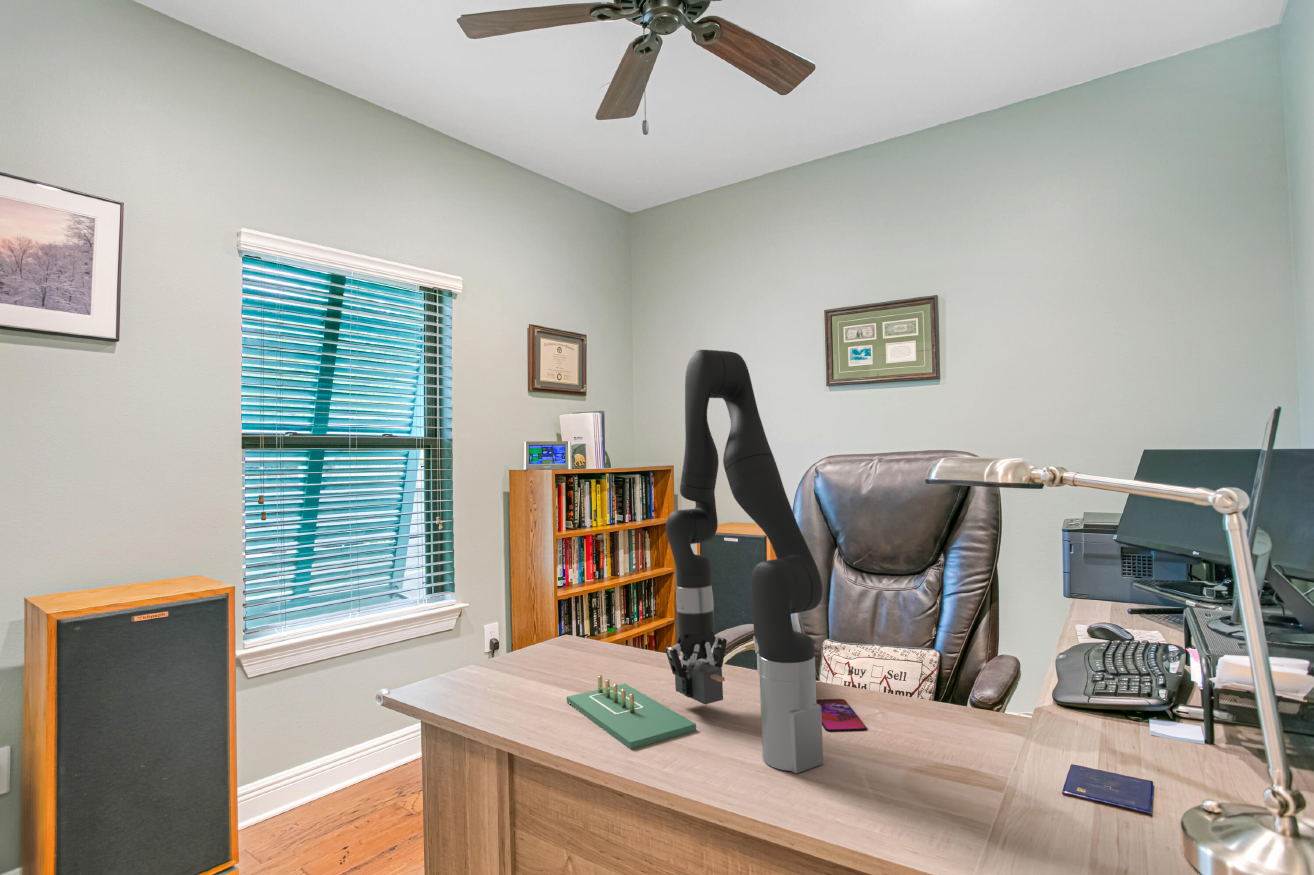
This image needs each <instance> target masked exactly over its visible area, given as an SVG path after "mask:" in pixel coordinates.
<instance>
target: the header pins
mask: <svg viewBox="0 0 1314 875" xmlns="http://www.w3.org/2000/svg"><path fill="white" fill-rule="evenodd" d="M604 684H605V685H604V687H603V675H600V674H599V675H597V690H598V693H603V688H605V697H606V698H610V687H611V680H610V679H605V680H604ZM618 685H619V684H618V683H613V684H612V686H613V703H618ZM621 708H626V689H621ZM629 709H630V713H635V706H634V694H629Z"/></svg>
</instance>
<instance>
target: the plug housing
mask: <svg viewBox="0 0 1314 875" xmlns="http://www.w3.org/2000/svg"><path fill="white" fill-rule="evenodd" d="M688 661H690V659H688ZM680 662H681V659H680ZM681 665H682V664H681ZM686 669H687V666H686ZM691 678H692V690H693V696H692V697H690V699H693V700H694V701H697V702H698V703H700V704H702V705H708V704H712V703H717V702H720V701H724V689H723V682H725V681H726V678H725V677H724V676H723V668H719V667H716V666H713V665H711V664H707V663H706V662H702V661H701V660H700V659H698V660H696V664H695V667H694V668H692V677H691ZM674 680H675V692H678V693H680V694H682V695H684V694H683V692H682V678H681V677H679V676H676V675H674Z"/></svg>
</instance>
